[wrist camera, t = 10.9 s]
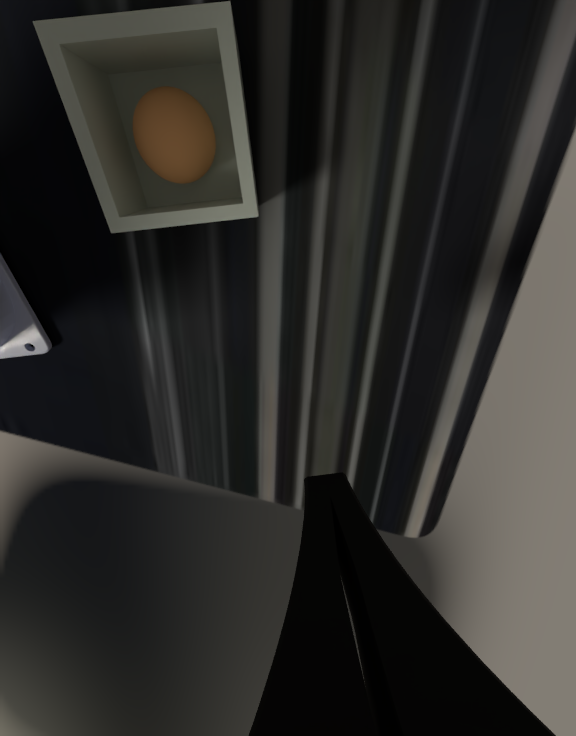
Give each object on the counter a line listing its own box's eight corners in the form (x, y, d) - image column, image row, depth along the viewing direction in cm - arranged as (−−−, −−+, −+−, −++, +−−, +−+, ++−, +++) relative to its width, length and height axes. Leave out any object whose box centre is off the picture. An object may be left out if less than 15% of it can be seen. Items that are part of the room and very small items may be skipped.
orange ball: (159, 185, 14) (137, 189, 12) (136, 99, 13) (104, 81, 10) (226, 178, 14) (218, 180, 12) (211, 91, 13) (198, 71, 10)
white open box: (144, 219, 15) (111, 233, 12) (95, 61, 12) (32, 21, 9) (258, 206, 15) (258, 216, 12) (238, 46, 12) (229, 0, 9)
